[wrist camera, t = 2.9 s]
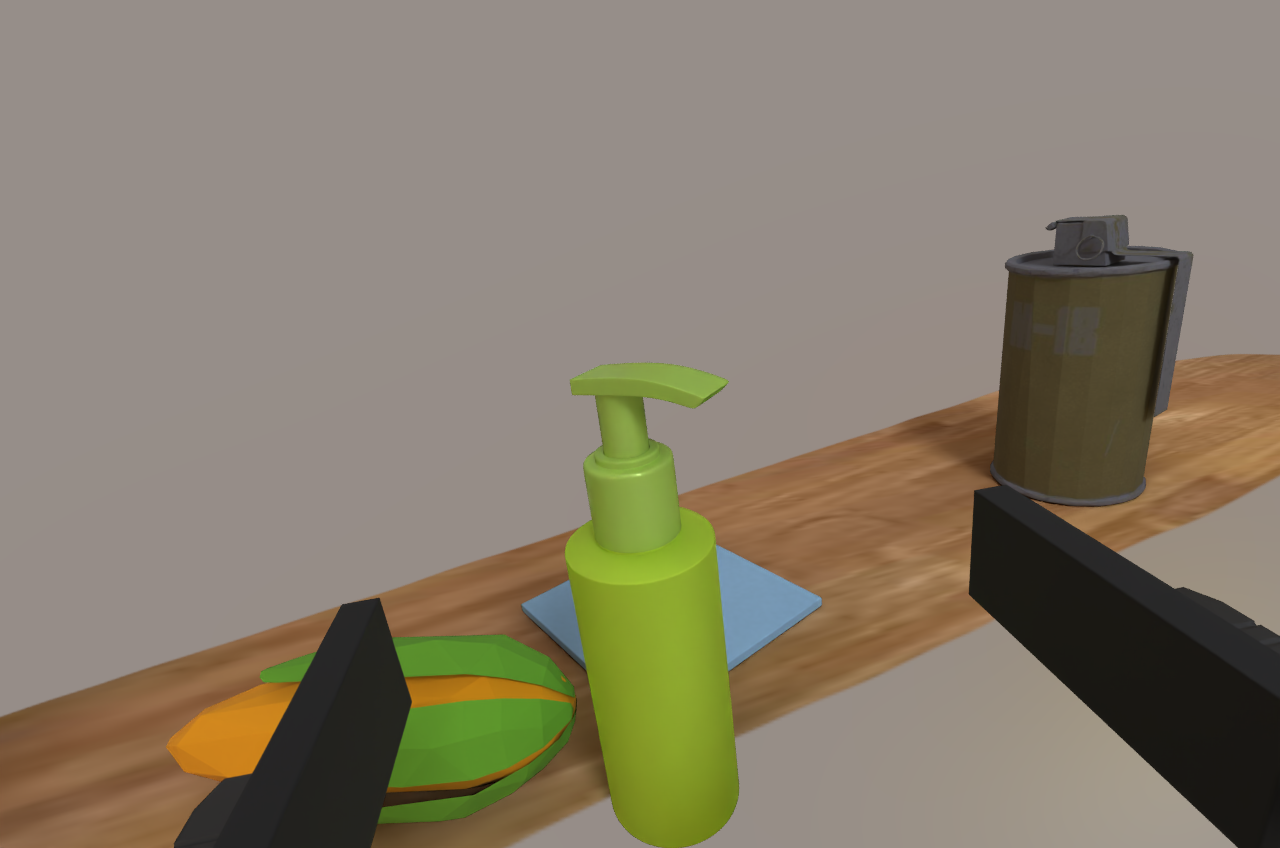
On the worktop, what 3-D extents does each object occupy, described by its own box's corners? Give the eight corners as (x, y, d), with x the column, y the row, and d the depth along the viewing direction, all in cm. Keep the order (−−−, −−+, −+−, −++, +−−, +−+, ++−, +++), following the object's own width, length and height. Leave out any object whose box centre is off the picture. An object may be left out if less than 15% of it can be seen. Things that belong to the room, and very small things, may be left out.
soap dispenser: (724, 887, 25) (668, 404, 18) (585, 811, 29) (496, 389, 22) (781, 772, 29) (753, 350, 23) (654, 719, 33) (598, 345, 26)
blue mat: (522, 611, 44) (520, 604, 43) (678, 531, 51) (677, 524, 51) (648, 729, 33) (646, 720, 33) (822, 605, 40) (821, 597, 40)
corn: (550, 691, 25) (64, 740, 26) (578, 841, 27) (128, 881, 28) (571, 591, 32) (189, 632, 33) (592, 716, 34) (232, 751, 35)
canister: (963, 478, 53) (978, 230, 47) (1031, 441, 58) (1054, 211, 51) (1111, 524, 45) (1156, 226, 38) (1177, 476, 50) (1227, 205, 43)
